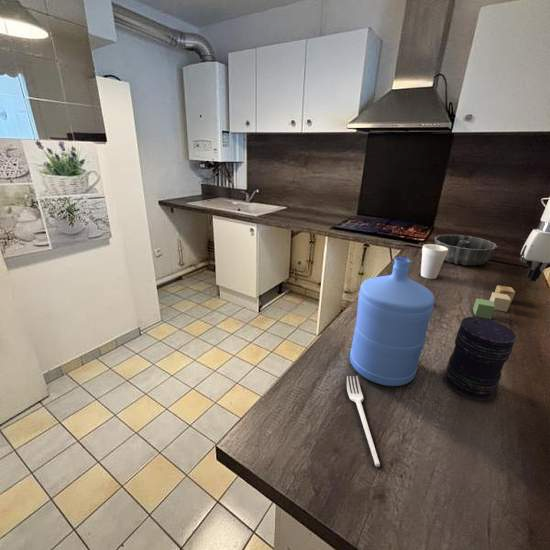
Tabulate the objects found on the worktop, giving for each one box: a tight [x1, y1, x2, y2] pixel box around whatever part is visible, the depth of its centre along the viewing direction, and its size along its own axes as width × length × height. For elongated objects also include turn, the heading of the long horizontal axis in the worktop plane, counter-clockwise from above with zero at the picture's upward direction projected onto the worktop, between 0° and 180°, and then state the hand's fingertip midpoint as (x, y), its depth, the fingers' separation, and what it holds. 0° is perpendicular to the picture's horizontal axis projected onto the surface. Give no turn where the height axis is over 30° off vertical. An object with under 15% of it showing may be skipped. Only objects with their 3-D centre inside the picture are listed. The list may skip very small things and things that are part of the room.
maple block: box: [494, 285, 516, 304], centre depth 106 cm, size 4×4×4 cm
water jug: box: [349, 256, 435, 387], centre depth 67 cm, size 16×16×28 cm
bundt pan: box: [434, 234, 498, 267], centre depth 145 cm, size 26×26×10 cm
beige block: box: [489, 291, 511, 313], centre depth 100 cm, size 4×4×4 cm
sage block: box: [472, 297, 496, 320], centre depth 96 cm, size 4×4×4 cm
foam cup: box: [420, 243, 448, 280], centre depth 124 cm, size 10×9×13 cm
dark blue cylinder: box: [444, 316, 517, 401], centre depth 64 cm, size 10×10×15 cm
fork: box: [346, 375, 381, 468], centre depth 58 cm, size 3×20×2 cm, turn 179°
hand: (531, 279), depth 101 cm, fingers closed
